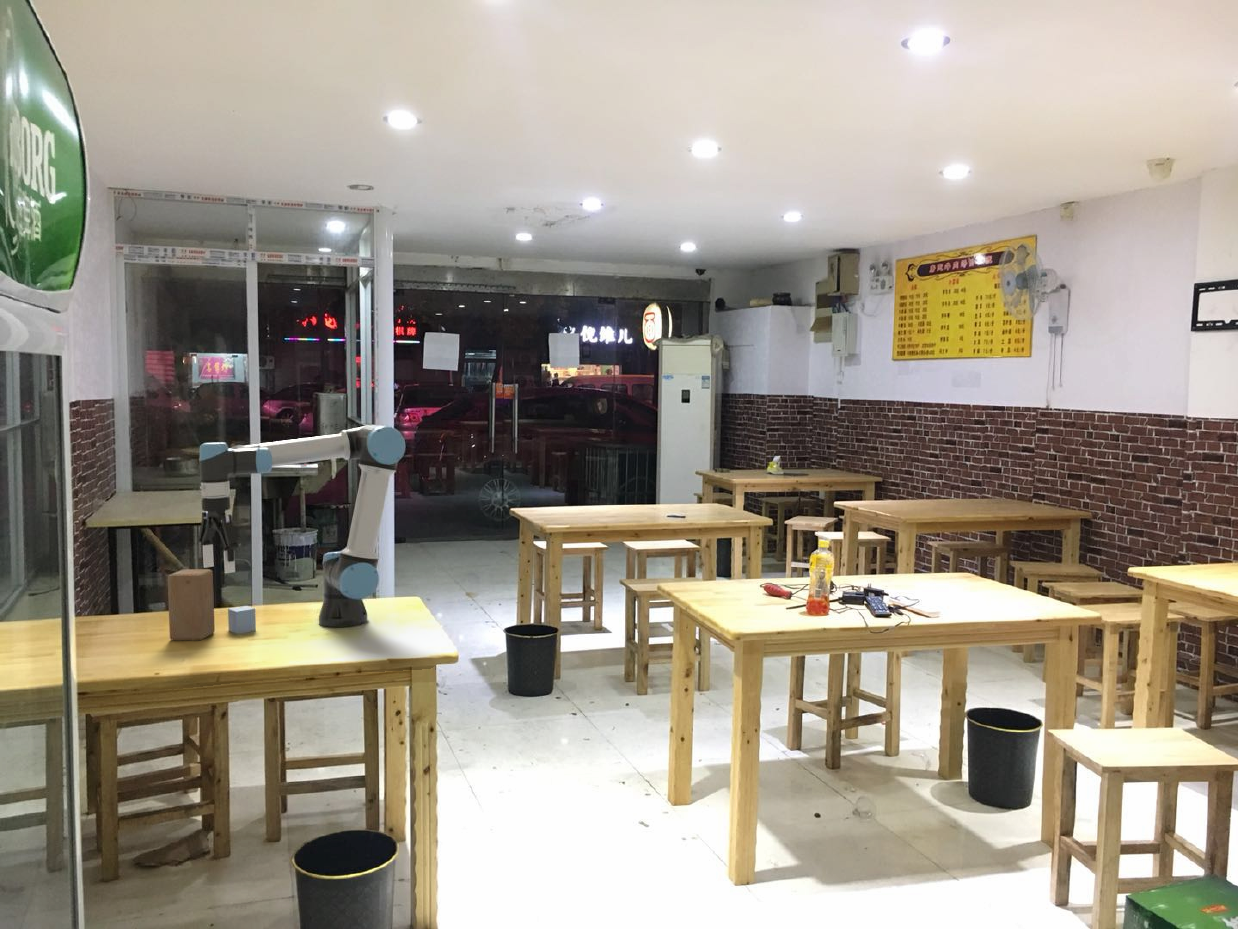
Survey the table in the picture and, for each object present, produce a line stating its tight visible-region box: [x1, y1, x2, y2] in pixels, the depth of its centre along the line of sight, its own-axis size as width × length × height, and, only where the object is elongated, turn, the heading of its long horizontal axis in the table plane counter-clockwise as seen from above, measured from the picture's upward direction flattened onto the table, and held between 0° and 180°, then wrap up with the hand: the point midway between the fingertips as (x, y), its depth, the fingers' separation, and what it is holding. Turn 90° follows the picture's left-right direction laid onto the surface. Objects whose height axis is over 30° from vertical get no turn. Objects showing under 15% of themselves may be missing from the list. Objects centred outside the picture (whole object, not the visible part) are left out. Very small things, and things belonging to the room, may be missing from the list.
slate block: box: [227, 605, 257, 635], centre depth 303 cm, size 6×6×7 cm
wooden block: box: [167, 568, 215, 641], centre depth 295 cm, size 10×10×20 cm
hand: (219, 569), depth 281 cm, fingers open, 13 cm apart
